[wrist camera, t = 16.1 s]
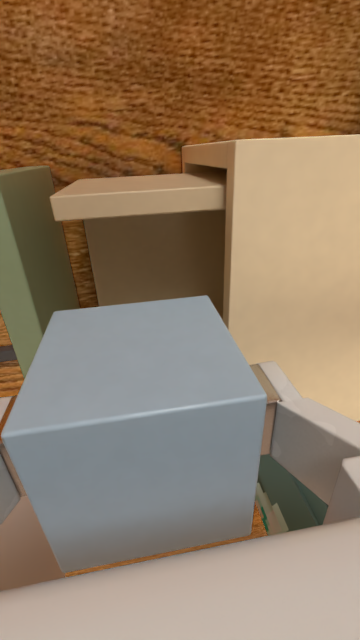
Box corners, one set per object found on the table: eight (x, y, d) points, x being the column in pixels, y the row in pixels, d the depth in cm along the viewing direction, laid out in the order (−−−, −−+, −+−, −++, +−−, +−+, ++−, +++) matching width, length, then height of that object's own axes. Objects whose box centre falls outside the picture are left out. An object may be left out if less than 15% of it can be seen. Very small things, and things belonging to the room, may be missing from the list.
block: (52, 310, 9) (-3, 436, 5) (208, 294, 9) (269, 395, 5) (82, 424, 11) (61, 575, 7) (208, 406, 12) (252, 536, 8)
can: (212, 419, 28) (293, 657, 15) (264, 374, 26) (404, 595, 13) (255, 445, 30) (355, 668, 17) (304, 406, 29) (454, 617, 16)
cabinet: (187, 339, 23) (224, 443, 15) (181, 146, 17) (235, 139, 9) (366, 317, 25) (488, 399, 17) (416, 135, 19) (645, 122, 11)
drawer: (-1, 361, 21) (-60, 462, 14) (-74, 171, 15) (-230, 186, 9) (261, 329, 23) (319, 404, 16) (277, 154, 18) (375, 154, 11)
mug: (-47, 477, 26) (-145, 666, 16) (53, 447, 26) (13, 616, 17) (23, 547, 32) (-19, 715, 22) (104, 521, 32) (96, 678, 23)
